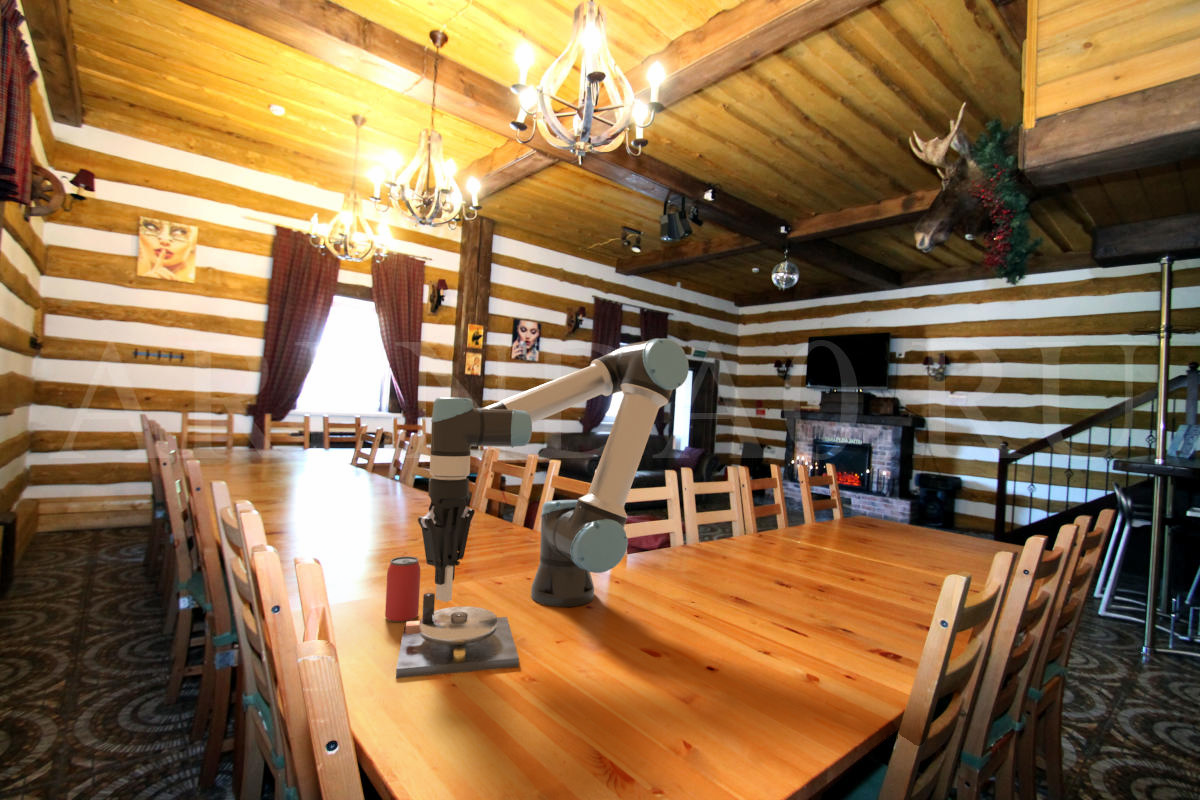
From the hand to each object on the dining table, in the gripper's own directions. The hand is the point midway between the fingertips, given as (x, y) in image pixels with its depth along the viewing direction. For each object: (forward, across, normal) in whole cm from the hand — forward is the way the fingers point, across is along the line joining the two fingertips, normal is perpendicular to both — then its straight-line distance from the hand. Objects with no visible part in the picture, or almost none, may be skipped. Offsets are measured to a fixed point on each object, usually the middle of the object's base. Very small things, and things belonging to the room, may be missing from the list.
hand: (443, 599), depth 104 cm
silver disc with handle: (+4, +2, +5) cm, 6 cm away
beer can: (+8, -3, -14) cm, 17 cm away
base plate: (+8, +1, +5) cm, 9 cm away
